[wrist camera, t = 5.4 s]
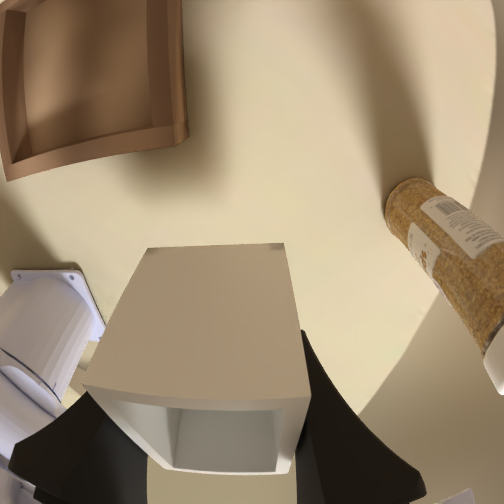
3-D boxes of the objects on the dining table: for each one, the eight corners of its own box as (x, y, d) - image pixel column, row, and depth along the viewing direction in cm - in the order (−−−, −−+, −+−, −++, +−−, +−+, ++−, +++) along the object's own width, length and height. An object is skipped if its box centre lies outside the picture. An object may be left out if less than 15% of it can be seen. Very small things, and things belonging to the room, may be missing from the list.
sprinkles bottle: (372, 227, 17) (482, 407, 6) (398, 164, 15) (568, 307, 4) (420, 243, 18) (524, 392, 7) (446, 188, 16) (584, 315, 4)
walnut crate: (33, 167, 15) (6, 182, 12) (24, 8, 8) (-2, 5, 5) (188, 136, 14) (175, 146, 12) (182, -55, 8) (171, -76, 5)
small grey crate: (182, 363, 14) (164, 468, 9) (147, 247, 10) (81, 383, 5) (279, 363, 14) (287, 473, 9) (283, 243, 10) (311, 396, 5)
